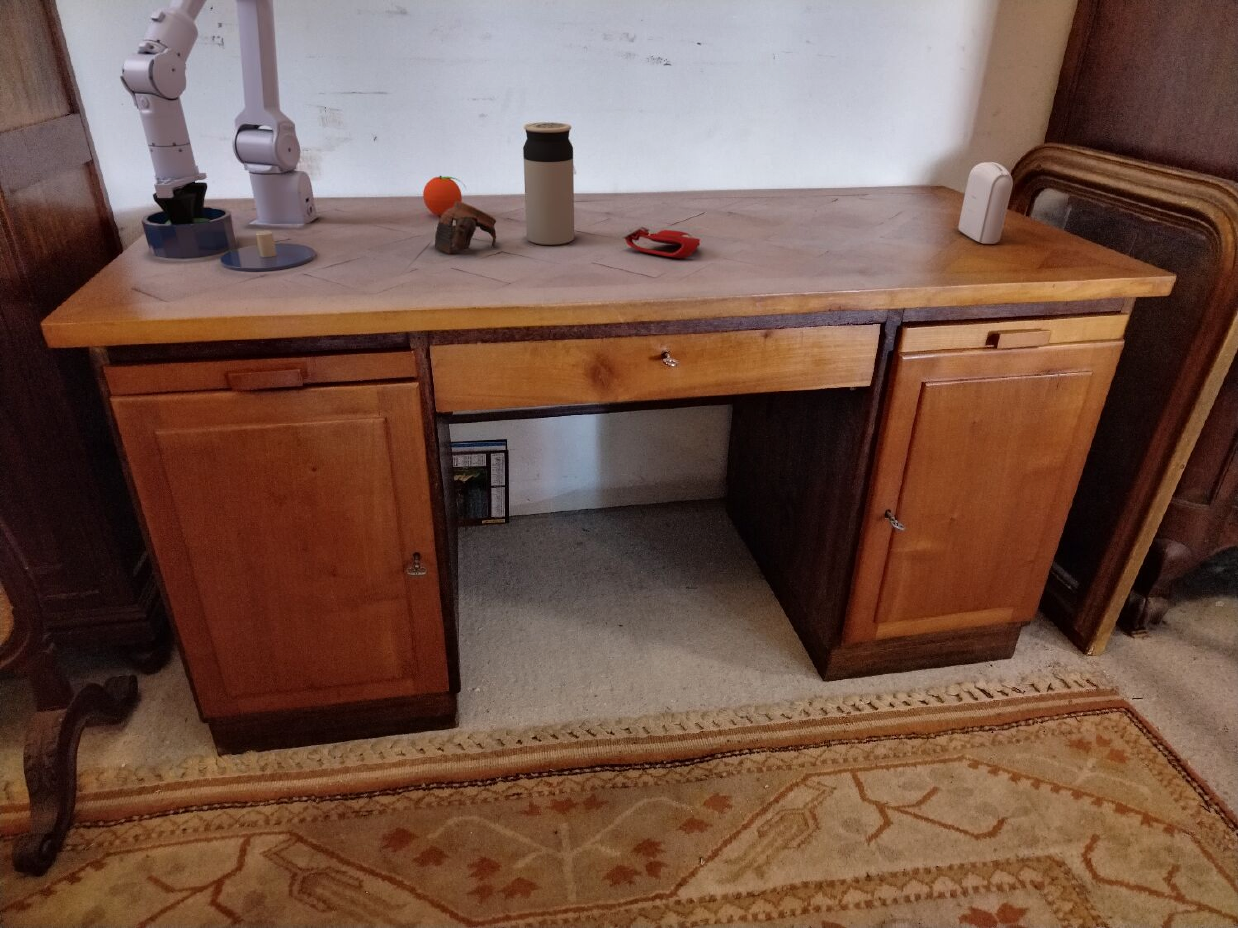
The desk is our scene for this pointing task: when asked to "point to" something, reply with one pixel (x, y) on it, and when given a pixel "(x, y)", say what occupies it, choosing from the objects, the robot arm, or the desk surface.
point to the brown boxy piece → (462, 227)
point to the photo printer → (986, 202)
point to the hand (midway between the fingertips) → (191, 235)
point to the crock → (190, 235)
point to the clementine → (441, 194)
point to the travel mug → (549, 183)
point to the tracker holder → (664, 241)
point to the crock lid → (267, 255)
